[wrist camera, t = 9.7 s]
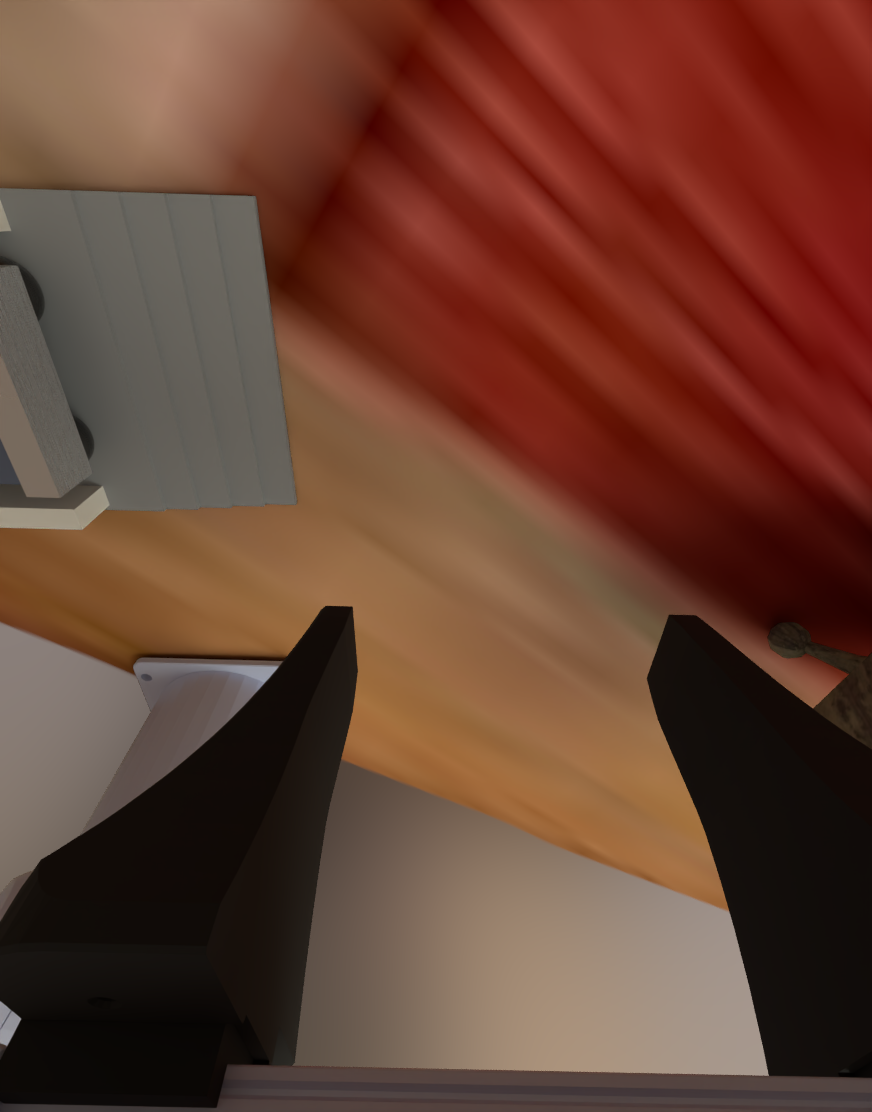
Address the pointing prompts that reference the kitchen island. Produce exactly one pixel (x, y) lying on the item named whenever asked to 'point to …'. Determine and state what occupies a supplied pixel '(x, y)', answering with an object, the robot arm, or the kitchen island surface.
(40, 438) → the trolley
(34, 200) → the loading dock
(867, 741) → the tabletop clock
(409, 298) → the kitchen island surface
